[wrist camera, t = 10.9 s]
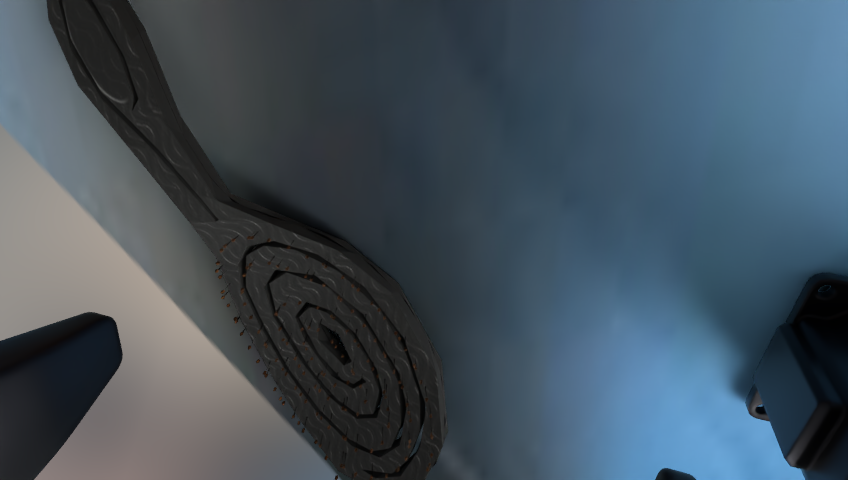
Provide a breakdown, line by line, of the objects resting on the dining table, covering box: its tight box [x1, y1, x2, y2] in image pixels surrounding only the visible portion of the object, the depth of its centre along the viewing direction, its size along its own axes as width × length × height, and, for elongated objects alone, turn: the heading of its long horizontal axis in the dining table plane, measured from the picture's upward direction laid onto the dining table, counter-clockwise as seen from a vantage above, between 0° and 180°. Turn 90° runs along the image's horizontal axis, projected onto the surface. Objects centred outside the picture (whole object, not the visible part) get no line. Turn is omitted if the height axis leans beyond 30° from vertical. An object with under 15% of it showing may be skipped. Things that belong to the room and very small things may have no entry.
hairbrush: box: [47, 0, 448, 480], centre depth 22 cm, size 8×4×25 cm
